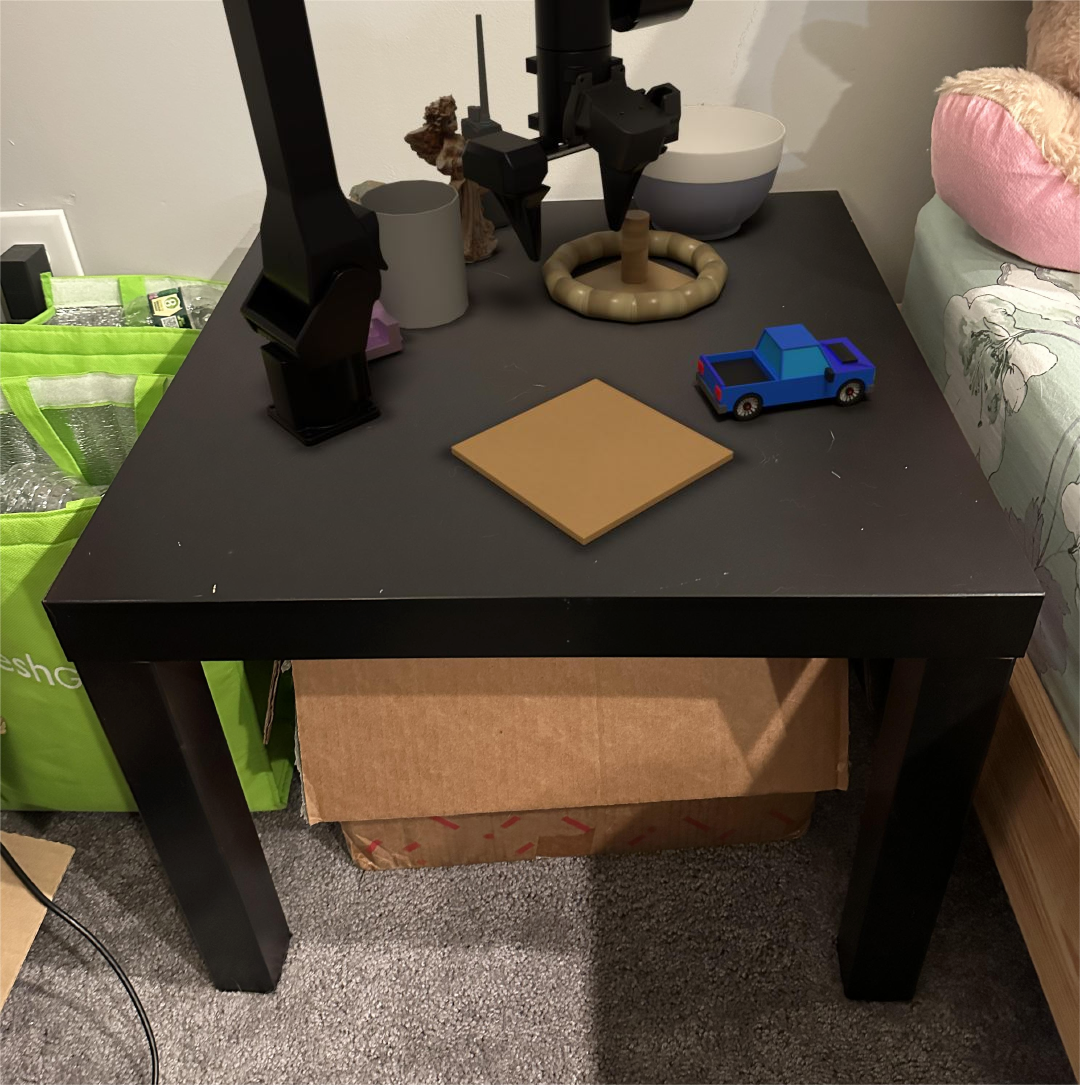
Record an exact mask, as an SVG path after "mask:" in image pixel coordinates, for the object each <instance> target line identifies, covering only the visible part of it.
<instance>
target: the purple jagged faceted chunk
mask: <svg viewBox="0 0 1080 1085" xmlns="http://www.w3.org/2000/svg"><path fill="white" fill-rule="evenodd" d="M400 328H401V327H399V322H398V321H397V320H396V319H394V318H393V317H392V316H391V315H389V314H388V313H387V312H386V311H385V309H384V307H383V306H382V304H381V302H380V301H379V300H377V301H376V302H375V303H374V305H373V311H372V317H371V324H370V330H369V336H368V342H367V348H366V350H365V352H366V358H367V362H368V361H371V360H375V359H377V358H380V357H384V356H387V355H390V354H393V353H396V352H399V351H402V350H403V343H402V341H404V338H403V337H402V335H401V329H400Z"/></svg>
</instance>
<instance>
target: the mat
mask: <svg viewBox="0 0 1080 1085" xmlns="http://www.w3.org/2000/svg"><path fill="white" fill-rule="evenodd" d="M450 449H451V454H452V455H453V456H454V457H456V458H458V459H459V460H460V461H461V462H463V463H464V464H465V465H468V466H469V467H470V468H472V469H473V470H474V471H476V472H478V473H479V474H480V475H482V476H483V477H485V478H486V479H487V480H489V481H490V482H492V483H493V484H494V485H496V486H497V487H499V488H501V490H503V491H505V492H506V493H508V494H509V495H510V496H512V497H514V498H515V499H516V500H518V501H519V502H520V503H522V504H524V506H526V507H527V508H529V509H531V510H532V511H534V512H535V513H536V514H537V515H539V516H541V517H542V518H543V519H545V520H546V521H547V522H550V524H552V525H554V526H555V527H557V528H558V529H560V531H562V532H563V533H565V534H566V535H568V536H569V537H571V538H572V539H574V540H575V541H577V542H578V543H579V544H581V545H582V546H586V545H587V544H589V543H591V542H593V541H594V540H596V539H598V538H599V537H601V536H603V535H605V534H606V533H608V532H610V531H611V530H613V529H615V528H617V527H618V526H620V525H622V524H624V523H625V522H627V521H628V520H630V519H632V518H634V517H635V516H637V515H639V514H640V513H643V512H644V511H646V510H647V509H649V508H651V507H653V506H654V505H656V504H658V503H660V502H661V501H663V500H665V499H666V498H668V497H670V496H671V495H674V494H675V493H677V492H678V491H680V490H682V489H684V488H685V487H687V486H689V485H691V484H692V483H693V482H696V481H698V480H699V479H700V478H702V477H704V476H706V475H707V474H709V473H711V472H713V471H715V470H716V469H717V468H719V467H721V466H723V465H724V464H727V463H728V462H730V461H732V460H733V459H734V451H733V450H731V449H729V448H727V447H725V446H723V445H721V444H719V443H717V442H716V441H714V440H711V439H710V438H709V437H706V436H704V435H702V434H700V433H699V432H697V431H695V430H693V429H691V428H690V427H687V426H686V425H683V424H682V423H680V422H678V421H676V420H674V419H672V418H671V417H669V416H667V415H665V414H663V413H661V412H660V411H658V410H655V409H654V408H652V407H650V406H648V405H646V404H645V403H642V402H640V401H639V400H637V399H635V398H633V397H632V396H630V395H628V394H626V393H624V392H622V391H620V390H618V389H616V388H614V387H613V386H611V385H610V384H607V383H605V382H604V381H601V380H600V379H597V378H594V379H592V380H590V381H588V382H586V383H583V384H581V385H579V386H577V387H575V388H572V389H570V390H569V391H567V392H564V393H562V394H561V395H560V394H559V395H558V396H555V397H554V398H551V399H550V400H548V401H545V402H543V403H541V404H539V405H537V406H534V407H533V408H531V409H528V410H527V411H524V412H522V413H520V414H518V415H516V416H514V417H511V418H510V419H507V420H505V421H503V422H501V423H499V424H497V425H494V426H493V427H491V428H487V429H486V430H484V431H481V432H479V433H477V434H474V435H473V436H471V437H469V438H467V439H464V440H463V441H461V442H458V443H456V444H454V445H452V446H451V448H450Z"/></svg>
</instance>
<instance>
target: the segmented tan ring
mask: <svg viewBox="0 0 1080 1085" xmlns="http://www.w3.org/2000/svg"><path fill="white" fill-rule="evenodd" d="M620 256H621V257H622V229H621V230H620V231H619V232H614V231H612V230H605V231H596V232H592V233H589V234H587V235H584V236H581V237H579V238H576V239H573V240H571V241H568V242H566V243H563V244H560V246H558V248H557V249H556V250H555V251H554V252H553V253H552V255H551V256H550V257H549V258H548V259H547V261H546V262H544V265H543V266H542V269H541V276H542V279H543V281H544V284H545V286H546V288H547V290H548V292H549V295H550V297H551V299H552V300H553V301H555V302H556V303H558V304H561V305H562V306H564V307H566V308H568V309H571V310H573V311H574V312H577V313H579V314H581V315H583V316H585V317H588V318H596V319H603V320H609V321H610V320H611V321H619V322H626V323H627V322H628V323H641V322H649V321H658V320H666V319H667V320H668V319H675V318H680V317H683V316H686V315H687V314H690V313H692V312H694V311H696V310H698V309H701V308H703V307H705V306H707V305H710V304H711V303H713V302H715V301H716V300H717V299H718V297H719V296H720V293H721V291H722V289H723V287H724V285H725V283H726V281H727V279H728V276H729V268H728V266H727V264H726V262H725V261H724V260H723V259H722V258H721V256H720V255H719V254H718V253H717V251H716V250H715V249H714V248H713V247H712V246H711V245H710V244H708V243H706V242H704V241H698V240H695V239H692V238H690V237H687V236H684V235H682V234H679V233H676V232H667V231H657V230H656V229H649V243H648V257H658V258H667V259H671V260H673V261H676V262H678V263H681V264H684V265H686V266H689V267H691V268H694V270H695V271H696V272H697V274H698V275H697V277H696V278H695V280H693V281H691V282H689V283H687V284H684V285H682V286H680V287H677V288H675V289H671V290H662V291H653V292H645V293H636V294H633V293H624V292H616V291H608V290H599V289H594V288H592V287H590V286H587V285H585V284H583V283H581V282H579V281H576V280H574V278H573V276H572V275H571V274H572V272H573V271H574V270H575V269H576V268H578V267H580V266H583V265H585V264H587V263H590V262H594V261H595V260H598V259H602V258H611V257H620Z"/></svg>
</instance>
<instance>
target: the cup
mask: <svg viewBox="0 0 1080 1085" xmlns="http://www.w3.org/2000/svg"><path fill="white" fill-rule="evenodd" d="M448 184H449V183H445V182H443V181H438V180H437V181H436V180H429V179H408V180H397V181H393V182H388V183H386V184H383V185H380V186H377V187H375V188H373V189H370V190H368V191H366V192H365V193H364V194H363V195H362V196H361V197H360V198H359V199H358V200H359V204H360V205H362V206H364V207H366V208H368V209H370V210H373V211H374V212H376V215H377V218H378V222H379V236H380V249H381V253H382V256H383V259H384V260H385V262H386V264H387V265H388V270H387V271H384V270H380V273H381V278H382V290H381V295H380V298H379V301H380V302H381V304H382V306H383V307H384V309H385V311H386V312H387V313H388V314H389V315H391V316H392V317H393V318H394V319H396V320H397V321H398V322H399V328H402V329H408V330H409V329H410V330H411V329H412V330H413V329H431V328H435V327H438V326H442V325H446V324H449V323H452V322H453V321H455V320H456V319H458V318H460V317H462V316H463V315H464V314H465V312H466V311H467V309H468V308H469V294H468V284H467V283H468V282H467V272H466V263H465V259H464V248H463V237H462V226H461V215H460V203H459V194H458V192H457V191H456V189H455V187H453V186H450V185H448Z"/></svg>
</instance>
